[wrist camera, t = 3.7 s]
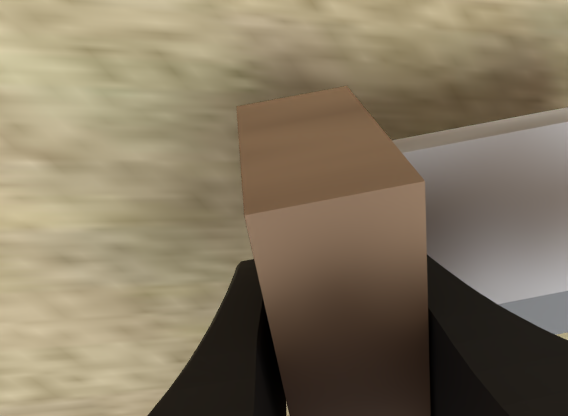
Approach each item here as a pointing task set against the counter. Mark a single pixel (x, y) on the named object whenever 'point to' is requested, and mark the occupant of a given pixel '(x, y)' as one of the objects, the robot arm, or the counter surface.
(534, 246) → the brown grey l-shaped piece
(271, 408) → the robot arm
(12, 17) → the counter surface
